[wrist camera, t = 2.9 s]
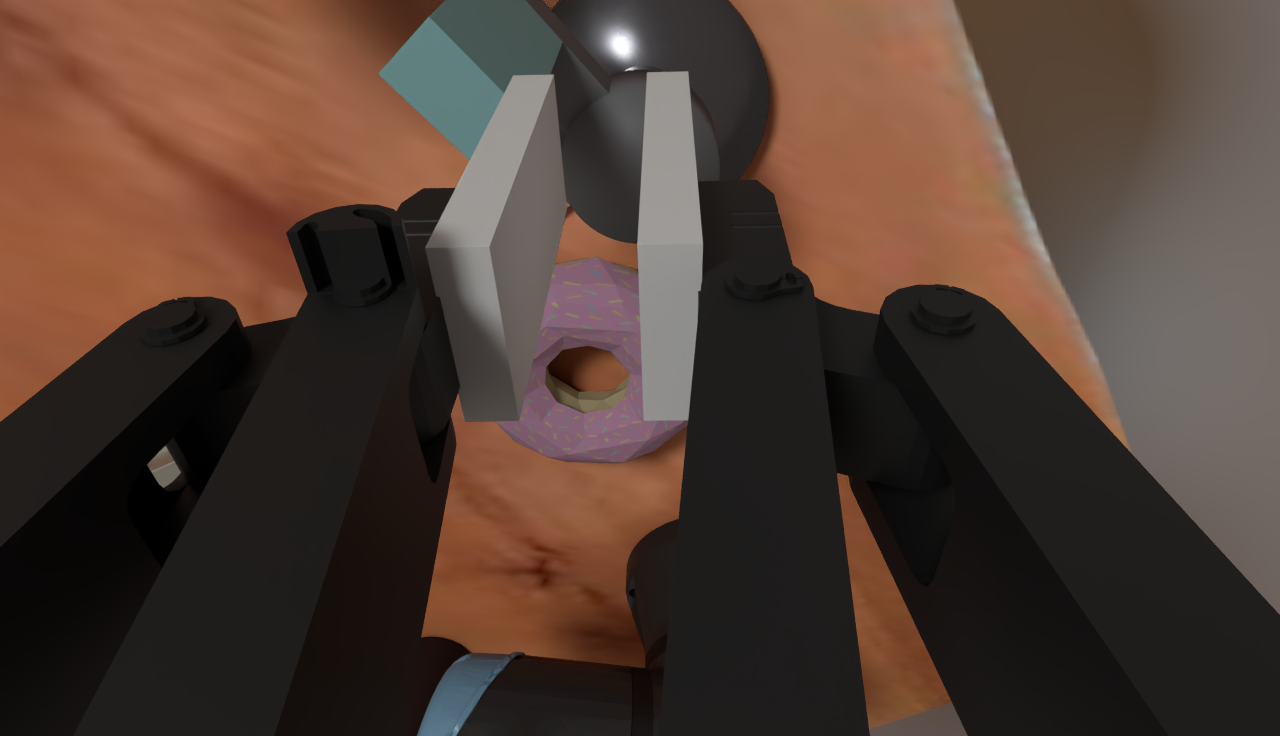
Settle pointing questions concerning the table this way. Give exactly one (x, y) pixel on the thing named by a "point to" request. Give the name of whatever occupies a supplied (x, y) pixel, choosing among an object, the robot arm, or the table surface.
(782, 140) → the table surface
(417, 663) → the bottle
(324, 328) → the robot arm
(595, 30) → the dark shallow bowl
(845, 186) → the table surface
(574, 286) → the donut
